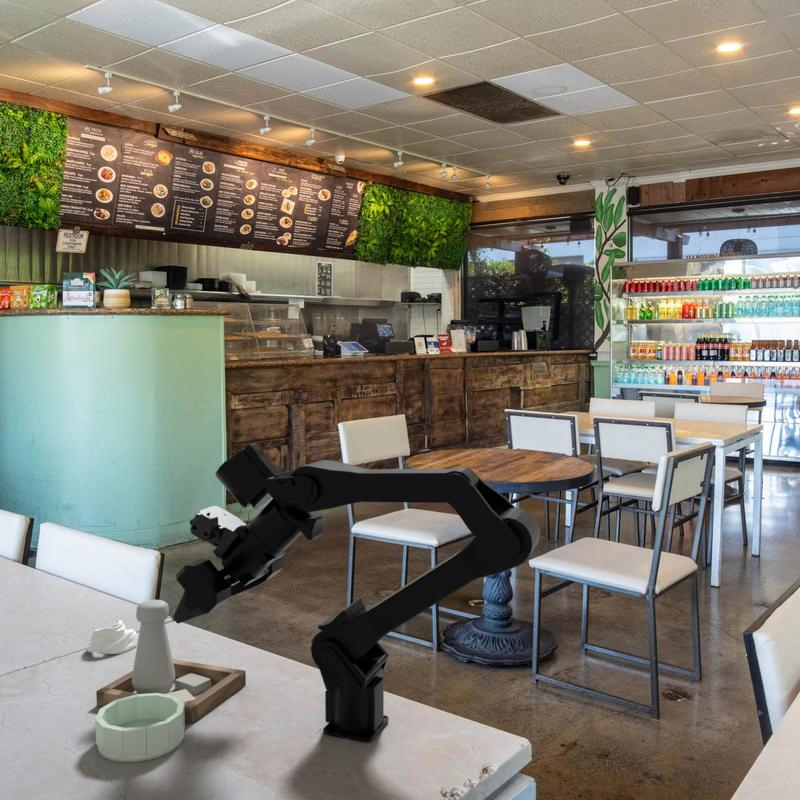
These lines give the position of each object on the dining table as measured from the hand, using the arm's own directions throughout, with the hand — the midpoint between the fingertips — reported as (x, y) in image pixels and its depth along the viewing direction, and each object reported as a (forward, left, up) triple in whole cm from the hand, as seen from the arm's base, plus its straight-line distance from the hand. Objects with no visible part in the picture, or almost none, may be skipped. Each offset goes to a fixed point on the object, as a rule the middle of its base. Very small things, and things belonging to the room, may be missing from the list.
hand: (195, 609), depth 108 cm
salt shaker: (+7, 0, -13) cm, 15 cm away
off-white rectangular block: (+3, -4, -13) cm, 14 cm away
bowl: (0, +12, -13) cm, 17 cm away
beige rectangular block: (+1, +2, -13) cm, 13 cm away
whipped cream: (+24, -12, -13) cm, 30 cm away
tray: (+4, -1, -13) cm, 13 cm away
